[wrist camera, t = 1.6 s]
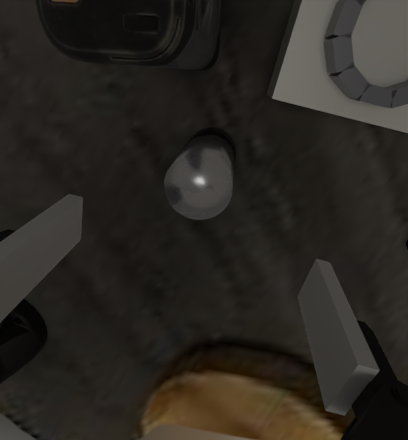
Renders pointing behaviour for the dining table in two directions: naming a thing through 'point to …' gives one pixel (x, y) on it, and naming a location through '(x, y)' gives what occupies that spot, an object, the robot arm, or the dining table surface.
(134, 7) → the electronic device
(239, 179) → the dining table surface
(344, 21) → the grey base with ring
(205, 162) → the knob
